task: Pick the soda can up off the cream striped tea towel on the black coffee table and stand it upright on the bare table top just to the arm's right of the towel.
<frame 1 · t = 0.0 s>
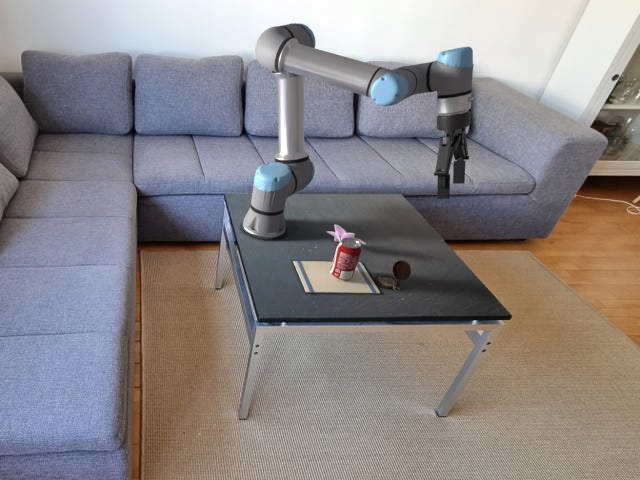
hand: (451, 190, 124), 28 cm above the table, tool tilted 20°, fingers open, 13 cm apart
soda can: (340, 275, 138), resting on cloth
compass: (390, 285, 135), on the table
lily: (340, 250, 150), on the table
cloth: (334, 276, 137), on the table
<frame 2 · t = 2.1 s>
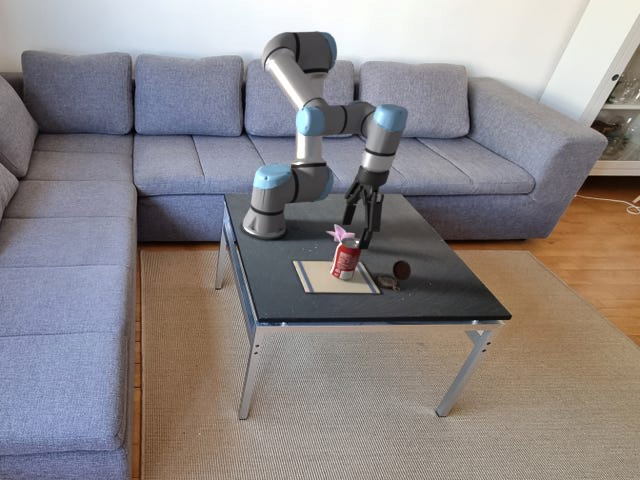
hand: (353, 236, 129), 15 cm above the table, tool pointing down, fingers open, 13 cm apart
nothing on the table moved.
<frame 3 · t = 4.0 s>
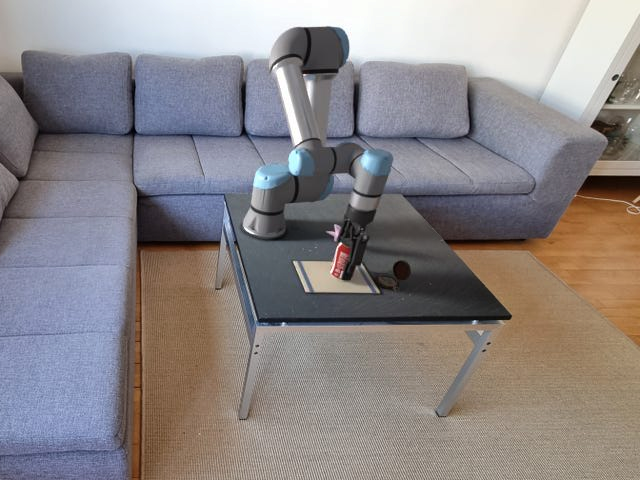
hand: (341, 272, 137), 1 cm above the table, tool pointing down, fingers closed on soda can, 7 cm apart
soda can: (340, 275, 138), resting on cloth, touching gripper
everything else where it was.
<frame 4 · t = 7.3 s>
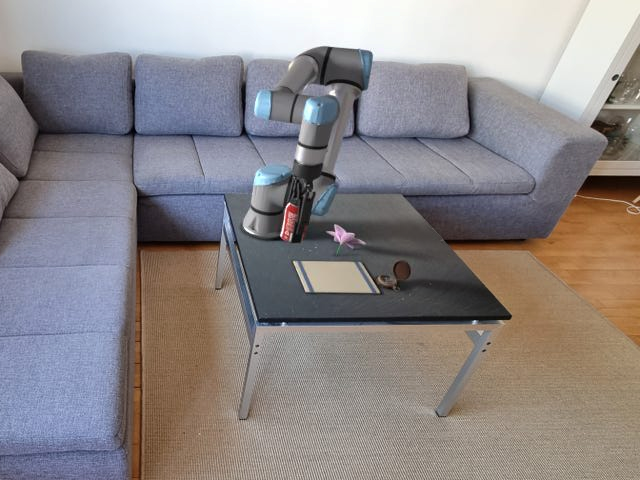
hand: (292, 235, 129), 14 cm above the table, tool pointing down, fingers closed on soda can, 7 cm apart
soda can: (291, 239, 130), point 13 cm above the table, touching gripper
everything else where it was.
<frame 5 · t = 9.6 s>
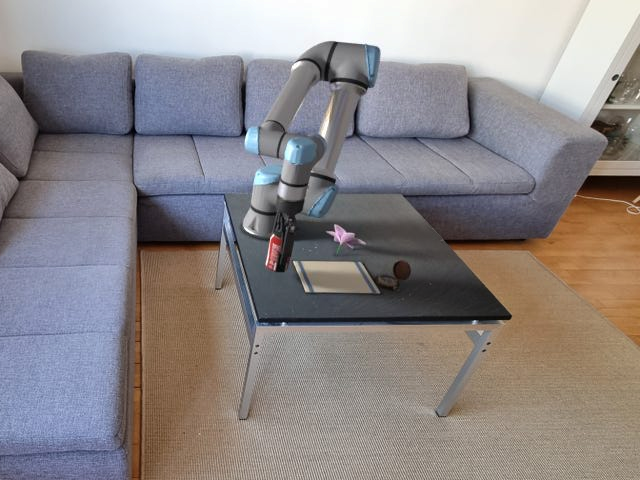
hand: (277, 264, 135), 4 cm above the table, tool pointing down, fingers closed on soda can, 7 cm apart
soda can: (276, 268, 136), point 3 cm above the table, touching gripper
everything else where it was.
when the fingers open (1 cm above the table, at t = 10.8 s): soda can stays where it is, on the table.
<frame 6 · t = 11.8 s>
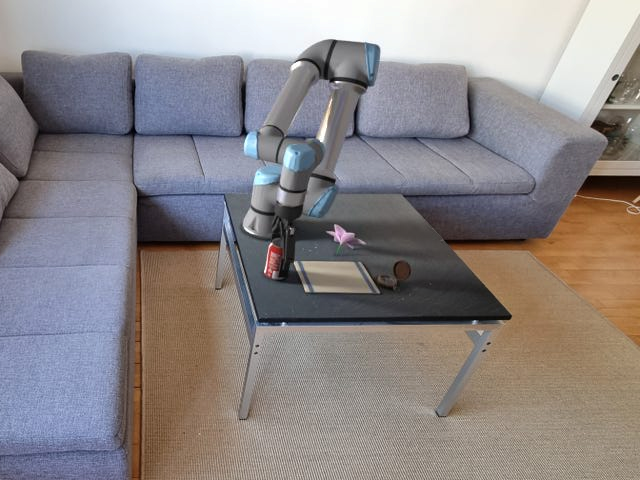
hand: (277, 263, 135), 4 cm above the table, tool pointing down, fingers open, 13 cm apart
soda can: (274, 275, 138), on the table
everything else where it was.
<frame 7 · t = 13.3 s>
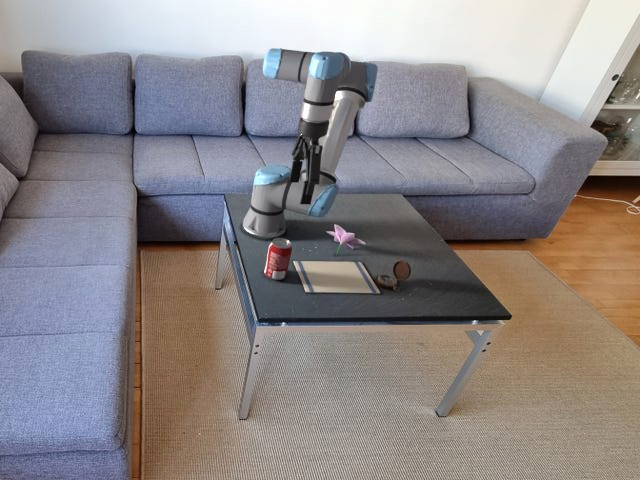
hand: (299, 192, 128), 25 cm above the table, tool pointing down, fingers open, 13 cm apart
nothing on the table moved.
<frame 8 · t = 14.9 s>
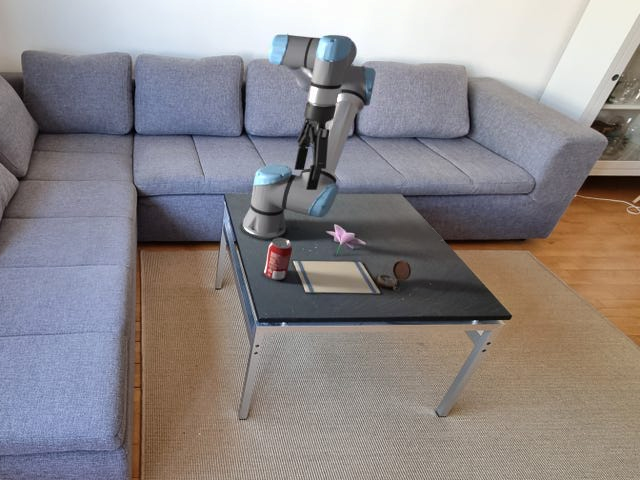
hand: (304, 179, 127), 29 cm above the table, tool pointing down, fingers open, 13 cm apart
nothing on the table moved.
at the end: soda can inside the target area (0.4 cm from its centre), on the table; soda can touching table; soda can tilted 0° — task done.
